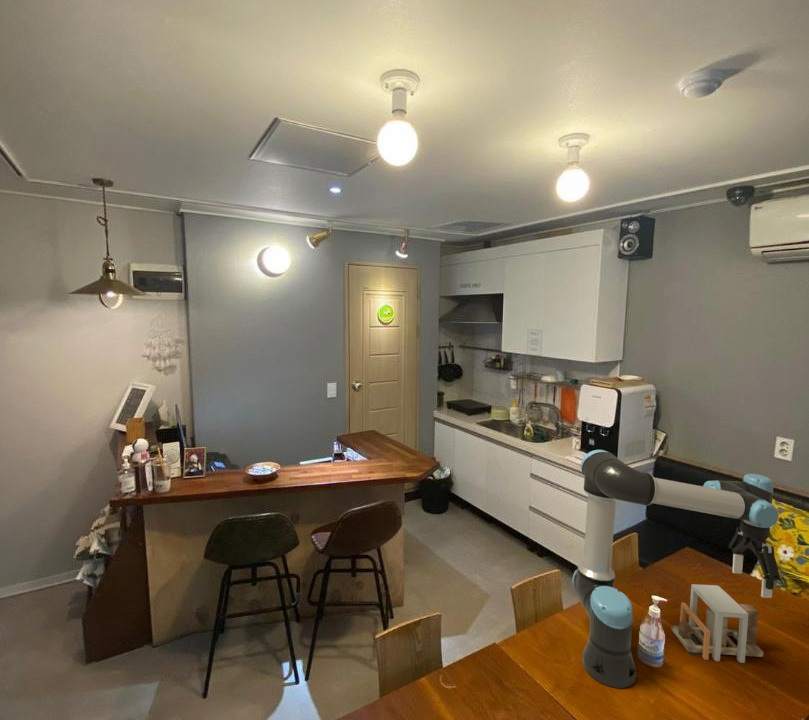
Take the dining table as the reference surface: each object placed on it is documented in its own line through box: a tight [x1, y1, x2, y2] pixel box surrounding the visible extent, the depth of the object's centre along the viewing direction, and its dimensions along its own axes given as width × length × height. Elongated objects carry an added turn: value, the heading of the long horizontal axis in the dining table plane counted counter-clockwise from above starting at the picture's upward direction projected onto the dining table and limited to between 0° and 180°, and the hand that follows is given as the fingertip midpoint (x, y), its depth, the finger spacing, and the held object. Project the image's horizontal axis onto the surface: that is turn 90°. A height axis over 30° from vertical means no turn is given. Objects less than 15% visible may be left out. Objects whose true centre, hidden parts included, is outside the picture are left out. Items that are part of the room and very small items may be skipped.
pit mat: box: [678, 633, 710, 657], centre depth 147 cm, size 6×11×1 cm, turn 175°
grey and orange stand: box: [679, 583, 748, 664], centre depth 146 cm, size 12×15×16 cm
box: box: [705, 608, 729, 647], centre depth 146 cm, size 5×4×11 cm
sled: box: [671, 603, 764, 658], centre depth 146 cm, size 23×10×13 cm, turn 85°
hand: (751, 584), depth 144 cm, fingers open, 13 cm apart
